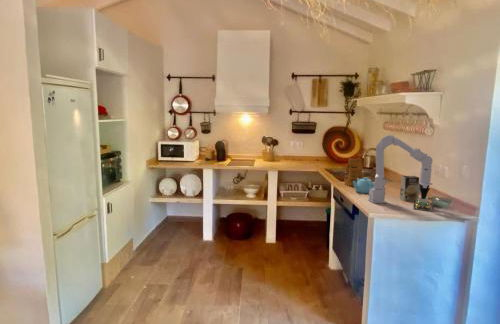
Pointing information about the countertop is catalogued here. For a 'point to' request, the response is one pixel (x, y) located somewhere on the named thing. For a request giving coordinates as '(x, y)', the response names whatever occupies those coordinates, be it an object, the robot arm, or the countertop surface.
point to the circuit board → (422, 201)
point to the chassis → (423, 207)
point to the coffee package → (353, 171)
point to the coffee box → (409, 188)
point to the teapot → (363, 185)
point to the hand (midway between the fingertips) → (423, 197)
